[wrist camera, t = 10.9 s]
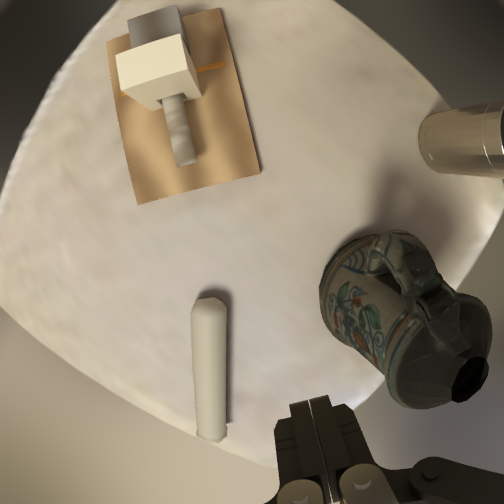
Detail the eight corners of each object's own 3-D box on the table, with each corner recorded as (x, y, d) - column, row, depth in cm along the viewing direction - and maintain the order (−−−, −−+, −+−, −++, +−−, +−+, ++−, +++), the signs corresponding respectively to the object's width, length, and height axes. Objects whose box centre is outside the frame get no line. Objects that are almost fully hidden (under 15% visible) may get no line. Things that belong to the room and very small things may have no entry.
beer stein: (370, 353, 47) (443, 465, 22) (275, 293, 43) (312, 424, 19) (434, 270, 44) (547, 342, 19) (346, 194, 40) (470, 227, 16)
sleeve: (195, 68, 34) (180, 33, 23) (201, 96, 35) (187, 69, 24) (146, 83, 34) (115, 55, 23) (152, 111, 35) (120, 90, 24)
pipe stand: (219, 11, 33) (216, -15, 26) (259, 173, 39) (264, 173, 32) (109, 45, 34) (88, 26, 27) (140, 204, 40) (121, 211, 33)
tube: (181, 302, 39) (191, 437, 45) (220, 309, 38) (221, 446, 44) (199, 288, 44) (203, 419, 50) (235, 294, 43) (232, 426, 49)
